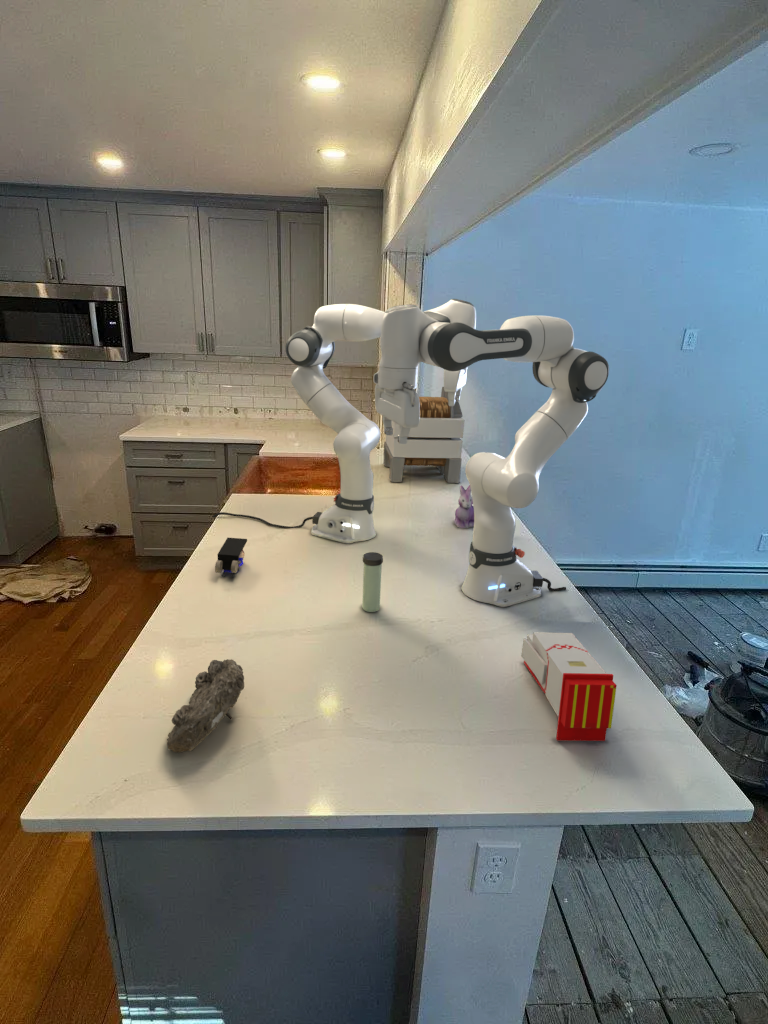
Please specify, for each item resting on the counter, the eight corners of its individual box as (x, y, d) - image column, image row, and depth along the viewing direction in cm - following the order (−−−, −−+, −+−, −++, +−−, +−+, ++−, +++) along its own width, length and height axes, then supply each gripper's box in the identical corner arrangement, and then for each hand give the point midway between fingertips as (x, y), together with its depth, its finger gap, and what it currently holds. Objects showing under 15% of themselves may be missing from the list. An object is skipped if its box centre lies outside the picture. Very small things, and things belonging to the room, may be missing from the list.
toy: (568, 616, 131) (626, 681, 101) (562, 669, 133) (617, 748, 104) (515, 615, 130) (559, 680, 101) (511, 669, 133) (551, 747, 104)
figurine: (462, 530, 205) (466, 491, 200) (446, 521, 213) (450, 483, 208) (483, 527, 209) (487, 488, 204) (467, 518, 218) (471, 480, 213)
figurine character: (238, 584, 162) (249, 557, 175) (236, 562, 158) (247, 536, 172) (215, 584, 161) (227, 556, 175) (212, 561, 158) (225, 535, 171)
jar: (369, 613, 147) (371, 563, 142) (358, 606, 150) (360, 556, 145) (383, 608, 150) (385, 558, 145) (372, 601, 153) (374, 552, 148)
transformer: (382, 463, 289) (386, 382, 275) (445, 464, 293) (451, 384, 279) (390, 482, 257) (394, 392, 243) (460, 483, 261) (468, 394, 247)
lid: (371, 567, 142) (371, 562, 142) (358, 560, 146) (358, 554, 145) (387, 562, 145) (387, 557, 145) (374, 555, 149) (374, 550, 148)
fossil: (192, 660, 117) (244, 628, 112) (224, 691, 120) (276, 661, 115) (142, 746, 98) (202, 712, 93) (182, 779, 101) (242, 748, 96)
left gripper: (453, 354, 180) (449, 398, 185) (441, 358, 161) (437, 407, 166) (473, 355, 178) (468, 399, 183) (463, 360, 160) (459, 409, 164)
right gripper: (428, 385, 122) (424, 448, 126) (395, 374, 140) (392, 430, 144) (401, 386, 119) (398, 450, 124) (371, 374, 138) (369, 430, 142)
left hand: (454, 403), depth 174 cm, fingers open, 8 cm apart
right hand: (395, 439), depth 134 cm, fingers open, 8 cm apart
